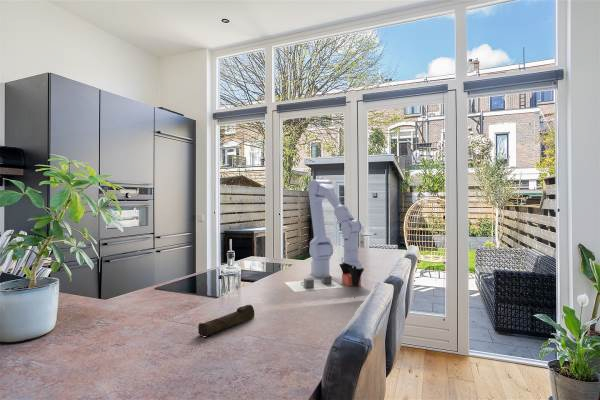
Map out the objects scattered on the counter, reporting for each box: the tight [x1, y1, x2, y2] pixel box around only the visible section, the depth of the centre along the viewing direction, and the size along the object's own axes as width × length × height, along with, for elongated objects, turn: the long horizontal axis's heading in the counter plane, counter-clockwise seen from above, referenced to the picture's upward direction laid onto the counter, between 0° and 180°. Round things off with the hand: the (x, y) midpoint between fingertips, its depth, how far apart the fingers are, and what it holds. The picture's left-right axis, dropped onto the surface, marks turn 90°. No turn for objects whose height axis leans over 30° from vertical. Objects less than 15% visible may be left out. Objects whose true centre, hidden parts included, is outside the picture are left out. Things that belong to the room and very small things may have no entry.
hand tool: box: [197, 304, 255, 338], centre depth 98 cm, size 19×4×5 cm, turn 139°
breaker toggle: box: [303, 277, 315, 288], centre depth 133 cm, size 3×3×3 cm
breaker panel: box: [284, 275, 344, 293], centre depth 138 cm, size 15×20×4 cm
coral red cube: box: [341, 273, 362, 287], centre depth 139 cm, size 6×6×5 cm
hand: (351, 283), depth 139 cm, fingers open, 7 cm apart
